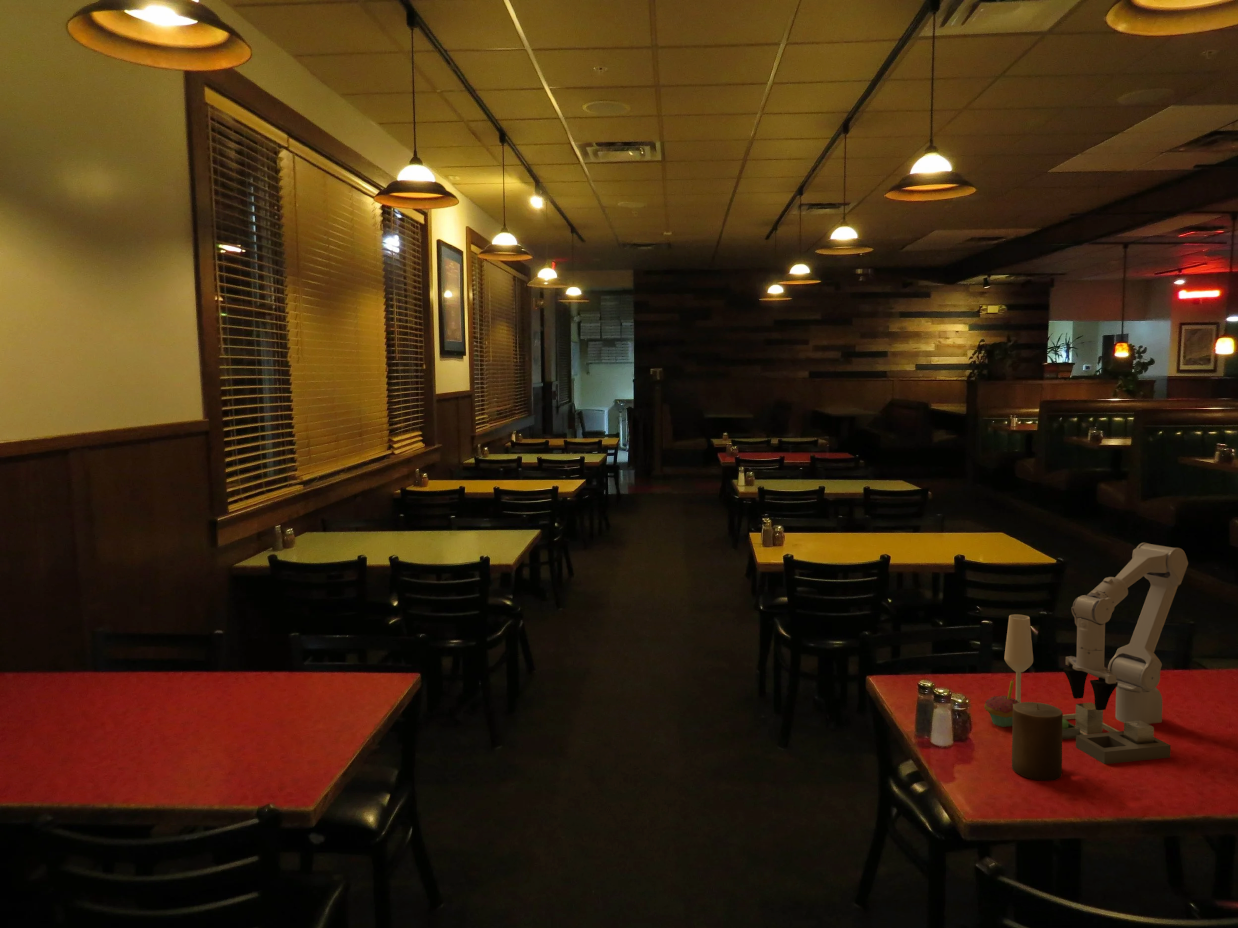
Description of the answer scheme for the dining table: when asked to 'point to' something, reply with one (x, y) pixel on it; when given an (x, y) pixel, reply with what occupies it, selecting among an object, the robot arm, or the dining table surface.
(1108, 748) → the grey holding fixture
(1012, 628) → the champagne flute
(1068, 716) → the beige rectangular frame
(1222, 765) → the dining table surface
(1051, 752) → the pillar candle
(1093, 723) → the block
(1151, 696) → the robot arm
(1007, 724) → the cupcake
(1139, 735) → the seated billet
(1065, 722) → the button
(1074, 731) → the switch box
